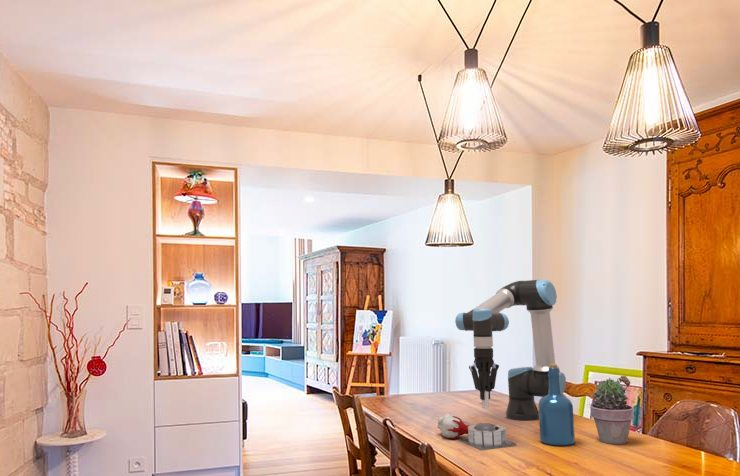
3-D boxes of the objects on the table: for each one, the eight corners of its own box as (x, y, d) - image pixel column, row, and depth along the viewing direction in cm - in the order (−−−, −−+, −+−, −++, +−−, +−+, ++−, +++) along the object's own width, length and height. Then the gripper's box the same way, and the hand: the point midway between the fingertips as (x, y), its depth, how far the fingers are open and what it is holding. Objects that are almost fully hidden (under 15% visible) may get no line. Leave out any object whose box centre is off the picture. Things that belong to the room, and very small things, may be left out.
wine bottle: (571, 448, 212) (566, 366, 216) (535, 444, 219) (531, 365, 223) (579, 440, 224) (574, 363, 227) (545, 436, 231) (541, 361, 234)
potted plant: (575, 439, 226) (571, 375, 228) (612, 434, 233) (608, 372, 236) (610, 449, 209) (606, 380, 212) (649, 443, 217) (644, 377, 220)
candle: (437, 431, 241) (472, 438, 236) (431, 437, 230) (468, 445, 225) (439, 410, 241) (474, 416, 236) (433, 415, 231) (470, 421, 226)
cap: (489, 437, 227) (488, 422, 228) (499, 442, 220) (499, 426, 221) (472, 439, 225) (472, 424, 225) (482, 444, 217) (482, 428, 218)
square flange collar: (492, 436, 233) (492, 422, 233) (516, 445, 218) (515, 429, 219) (458, 440, 227) (458, 425, 227) (481, 450, 212) (480, 434, 213)
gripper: (491, 346, 232) (494, 405, 230) (464, 347, 228) (466, 407, 225) (502, 347, 225) (505, 408, 223) (474, 348, 221) (476, 411, 218)
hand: (485, 408), depth 224 cm, fingers closed
